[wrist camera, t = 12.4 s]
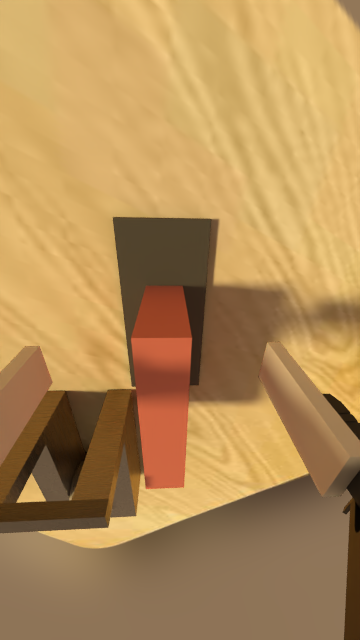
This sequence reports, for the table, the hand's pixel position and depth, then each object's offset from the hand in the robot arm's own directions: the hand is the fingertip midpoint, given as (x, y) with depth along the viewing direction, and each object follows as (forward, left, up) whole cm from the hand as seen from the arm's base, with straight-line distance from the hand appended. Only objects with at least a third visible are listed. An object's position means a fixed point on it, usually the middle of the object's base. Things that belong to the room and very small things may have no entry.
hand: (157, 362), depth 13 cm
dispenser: (+16, -8, -7) cm, 20 cm away
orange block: (+4, 0, -7) cm, 8 cm away
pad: (0, 0, -7) cm, 7 cm away
